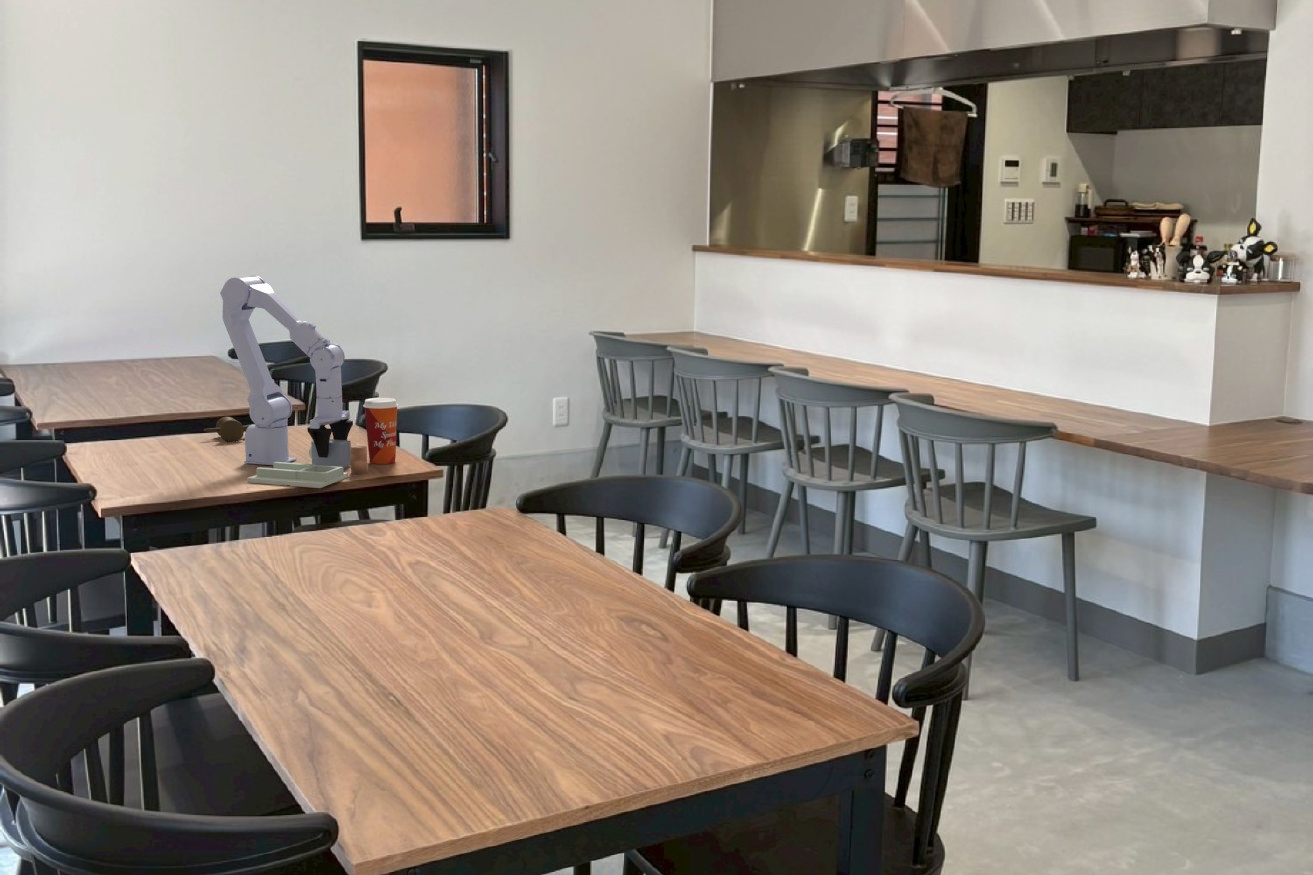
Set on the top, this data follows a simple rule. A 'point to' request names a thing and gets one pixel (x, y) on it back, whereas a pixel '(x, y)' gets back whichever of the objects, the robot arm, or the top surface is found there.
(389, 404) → the coffee cup
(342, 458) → the grey-blue box block
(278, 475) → the tray
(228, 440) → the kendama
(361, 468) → the tail peg
